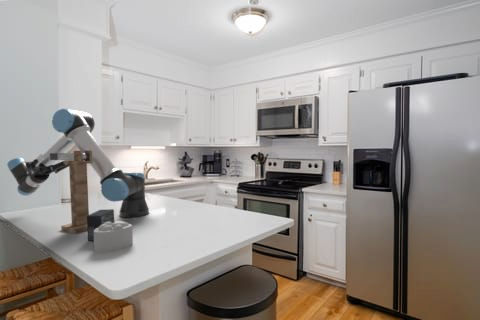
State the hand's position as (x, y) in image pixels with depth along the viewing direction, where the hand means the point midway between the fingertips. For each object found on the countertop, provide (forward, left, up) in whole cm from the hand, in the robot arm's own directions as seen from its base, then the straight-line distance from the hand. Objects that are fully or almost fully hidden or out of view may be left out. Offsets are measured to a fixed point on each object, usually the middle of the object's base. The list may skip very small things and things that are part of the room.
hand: (57, 156), depth 132 cm
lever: (-7, +4, -2) cm, 8 cm away
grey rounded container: (-34, +34, -33) cm, 59 cm away
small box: (-26, +22, -33) cm, 48 cm away
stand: (-12, +8, -33) cm, 36 cm away
